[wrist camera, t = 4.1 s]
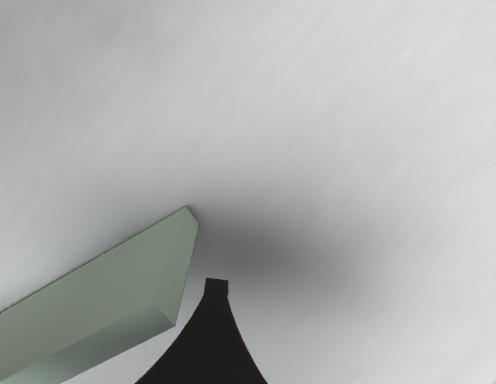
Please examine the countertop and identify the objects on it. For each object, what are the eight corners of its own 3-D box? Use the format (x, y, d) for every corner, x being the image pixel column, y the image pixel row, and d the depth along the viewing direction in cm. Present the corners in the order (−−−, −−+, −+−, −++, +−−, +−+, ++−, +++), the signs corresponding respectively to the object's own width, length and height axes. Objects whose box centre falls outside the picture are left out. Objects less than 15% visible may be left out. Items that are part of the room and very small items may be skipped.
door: (-46, 362, 18) (-174, 502, 12) (-65, 348, 18) (-206, 487, 12) (200, 225, 15) (177, 328, 10) (184, 204, 15) (150, 299, 9)
